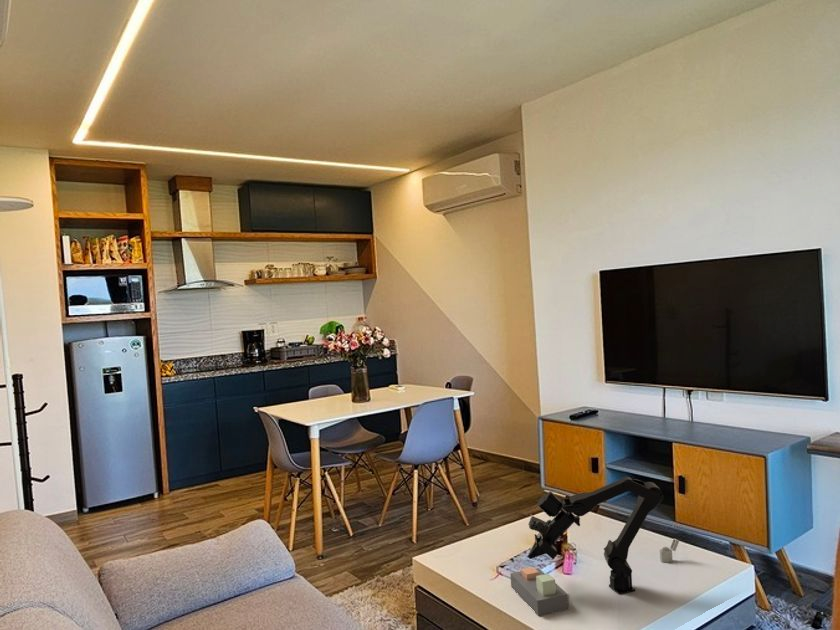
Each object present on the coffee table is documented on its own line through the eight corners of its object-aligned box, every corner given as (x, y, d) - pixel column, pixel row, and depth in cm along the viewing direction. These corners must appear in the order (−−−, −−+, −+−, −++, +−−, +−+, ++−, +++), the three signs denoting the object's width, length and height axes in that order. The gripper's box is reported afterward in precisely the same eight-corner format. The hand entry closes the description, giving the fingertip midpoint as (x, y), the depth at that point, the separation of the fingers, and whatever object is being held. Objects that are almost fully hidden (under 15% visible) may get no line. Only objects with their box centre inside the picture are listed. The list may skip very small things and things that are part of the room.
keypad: (539, 581, 214) (538, 568, 214) (568, 609, 194) (568, 594, 194) (511, 587, 212) (510, 573, 211) (538, 616, 191) (537, 600, 191)
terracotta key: (533, 582, 211) (532, 566, 211) (539, 587, 207) (538, 572, 207) (521, 584, 210) (521, 569, 210) (527, 590, 206) (526, 574, 206)
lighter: (662, 562, 224) (661, 541, 224) (660, 560, 225) (658, 539, 225) (680, 560, 224) (679, 539, 224) (677, 558, 226) (676, 537, 226)
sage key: (549, 589, 200) (548, 573, 200) (556, 596, 195) (555, 579, 195) (536, 592, 199) (536, 576, 199) (543, 598, 194) (542, 581, 194)
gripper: (538, 500, 217) (509, 531, 218) (545, 519, 199) (513, 553, 200) (561, 521, 217) (532, 552, 218) (570, 542, 198) (538, 575, 199)
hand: (528, 557), depth 208 cm, fingers closed
